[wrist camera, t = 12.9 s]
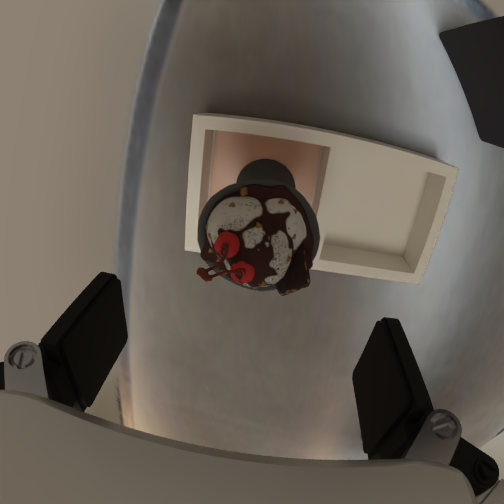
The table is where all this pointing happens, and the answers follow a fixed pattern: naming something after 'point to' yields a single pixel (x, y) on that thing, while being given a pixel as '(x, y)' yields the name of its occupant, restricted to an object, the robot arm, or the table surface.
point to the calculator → (481, 73)
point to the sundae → (259, 231)
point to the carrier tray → (332, 190)
